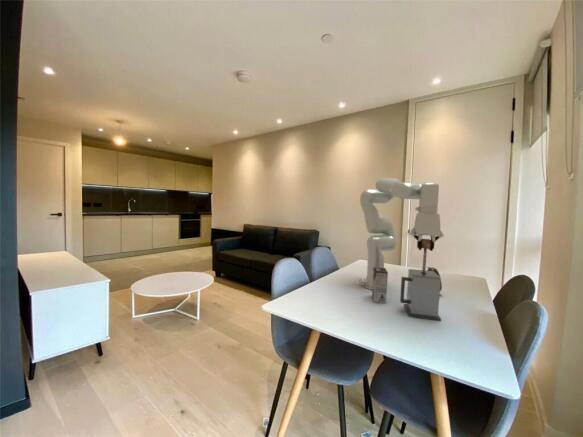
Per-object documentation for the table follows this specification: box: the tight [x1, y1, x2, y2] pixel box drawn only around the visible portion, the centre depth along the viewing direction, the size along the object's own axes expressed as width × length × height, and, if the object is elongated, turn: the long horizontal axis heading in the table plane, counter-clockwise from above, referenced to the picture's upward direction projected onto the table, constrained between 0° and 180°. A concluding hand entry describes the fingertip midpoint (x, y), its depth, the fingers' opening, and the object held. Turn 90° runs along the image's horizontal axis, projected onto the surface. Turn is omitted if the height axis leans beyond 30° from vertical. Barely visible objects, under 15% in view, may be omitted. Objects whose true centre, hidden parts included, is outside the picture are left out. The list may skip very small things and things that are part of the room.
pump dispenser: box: [426, 266, 443, 293], centre depth 145 cm, size 10×10×15 cm
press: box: [399, 268, 442, 322], centre depth 118 cm, size 16×13×19 cm
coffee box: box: [371, 267, 389, 304], centre depth 133 cm, size 9×6×16 cm
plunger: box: [421, 238, 431, 274], centre depth 117 cm, size 9×9×20 cm
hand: (425, 249), depth 116 cm, fingers closed on plunger, 4 cm apart
